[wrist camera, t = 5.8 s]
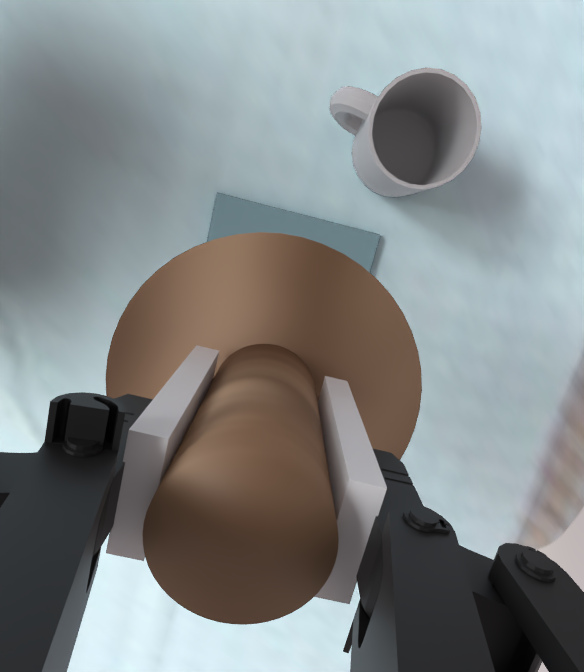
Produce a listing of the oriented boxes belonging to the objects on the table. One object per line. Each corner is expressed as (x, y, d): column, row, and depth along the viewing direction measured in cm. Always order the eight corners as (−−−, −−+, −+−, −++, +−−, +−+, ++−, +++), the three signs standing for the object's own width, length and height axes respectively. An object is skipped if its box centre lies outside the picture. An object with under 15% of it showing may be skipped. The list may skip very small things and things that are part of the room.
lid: (95, 483, 18) (-84, 717, 10) (144, 196, 16) (-35, 158, 7) (367, 542, 19) (435, 812, 10) (453, 275, 17) (636, 327, 8)
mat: (185, 350, 42) (183, 352, 42) (218, 193, 39) (217, 192, 39) (335, 386, 43) (336, 388, 43) (379, 234, 40) (380, 234, 40)
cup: (409, 213, 40) (442, 209, 31) (305, 155, 39) (309, 133, 30) (455, 132, 38) (503, 104, 30) (347, 69, 37) (365, 21, 29)
